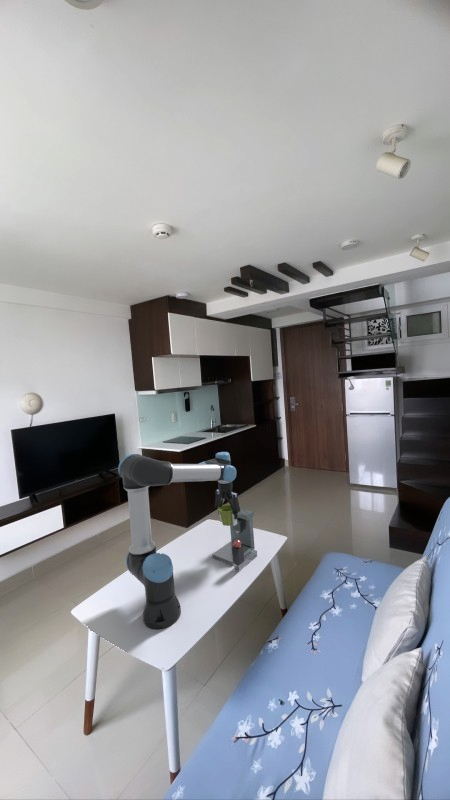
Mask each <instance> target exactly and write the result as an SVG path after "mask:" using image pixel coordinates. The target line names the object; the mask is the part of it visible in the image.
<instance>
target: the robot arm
mask: <svg viewBox="0 0 450 800" xmlns="http://www.w3.org/2000/svg"><path fill="white" fill-rule="evenodd" d="M231 462H232V461H231V456H230V453H229V452H228V451H221V452H217V453H215V458H212V459H208V460H205V461H202V462H199V463H171V462H170V461H164V460H158V459H154V458H151V457H147V456H144V455H141V454H139V453H130V454H127V455H125V456H124V457H123V458H121V460H120V462H119V464H118V467H117V468H118V474H119V475H120V478H122V484H123V485H122V486H123V489H124V490H125V491H126V492H127V499H128V501H127V503H128V513H129V514H128V516H129V526H130V538H131V545H129V547H128V553H127V555H126V557H125V558H126V559H125V564H126V567H127V569H128V572H129V574H131V575H132V576H134V577H135V578H136V579H137V580H138V581H139V582H140V583H141V584H142V585H143V586H144V592H145V603H144V609H143V613H142V618H143V624H144V625H145V626H146V627H147V628H149V629H152V630H162V629H166V628H169V627H171V626H172V625H174V624H175V623H176V622H177V621H178V620H179V618H180V617H181V614H182V613H181V612H182V611H181V610H182V609H181V607H182V606H181V603H180V601H179V599H178V597H177V594H176V592H175V579H174V577H175V576H174V565H173V562H172V559H171V557H170V556H169V555H168V554H166V553H163V552H162V553H160V552H157V544H156V542H155V541H154V540H153V539H152V535H153V534H152V527H151V524H152V522H151V512H150V511H151V510H150V500H149V499H150V497H149V488H150V487H156V486H169V485H171V483H184V482H189V483H190V482H208V481H211V482H212V481H214V482H215V481H217V484H218V485H217V486H218V488H217V489H216V490H214V495H215V496H214V497H215V498H214V499H215V500H214V508H216V509H217V511H218V515H219V522H220V523H222V519H221V515H220V512H219V510H218V508H219V507H221V506H223V505H224V502H225V500H227V502H228V505H230V506H231V509H232V510H233V513H232V519H233V526H235V525H236V524H237V518H238V515H237V513H238V512H240V509H241V507H240V503H239V499H238V493H237V492H233V481H234V480H235V479H236V478H237V469H236V467H235V466H233V465H231V464H232V463H231Z"/></svg>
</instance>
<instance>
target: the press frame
mask: <svg viewBox="0 0 450 800" xmlns="http://www.w3.org/2000/svg"><path fill="white" fill-rule="evenodd" d="M237 515H238V518H237V524H236V525H235V526H233V525H230V526H229V528H230V541H229V542H227V543H226V544H224V545H223V546H222V547H220V548H219V549H217V550H216V551H214V553H212V554H211V557H212V559H214V560H217V561H219V562H222V563H223V564H224V563H225V564H227V565H230V566H231V567H232V566H233V568H234V569H233V570H234V571H237V572H240V571H241V570H243V569H244V568H245V567H246V566H247V565H249V564H251V563H252V561H254V560H255V559H256V558H258V550H256V549H255V535H254V534H255V533H254V522H253V517H254V516H255V514H254V511H252V510H249V509H244V508H240V512H238V513H237ZM235 540H239V541H240V542H241V545H242V546H243V551H244V562H243V563H242V564H240V565H237V564H235V563H233V556H232V547H233V543H234V541H235Z"/></svg>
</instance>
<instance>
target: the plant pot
mask: <svg viewBox="0 0 450 800" xmlns="http://www.w3.org/2000/svg"><path fill="white" fill-rule="evenodd" d="M218 510H219V512H220V515H221V519H222V522H221V523H222V525H223V526H224V527H225V526H227V527H230V525H233V519H232V513H233V510H232V509H231V506H230V504H223V506H221V507H219V508H217V511H218Z"/></svg>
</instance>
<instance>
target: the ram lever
mask: <svg viewBox="0 0 450 800" xmlns="http://www.w3.org/2000/svg"><path fill="white" fill-rule="evenodd" d="M232 556H233V563H235V564H237V565H240V564H242V563H243V562H244V551H243V546H242V545H241V542H240V541H239V540H235V541H234V543H233V547H232Z"/></svg>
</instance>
